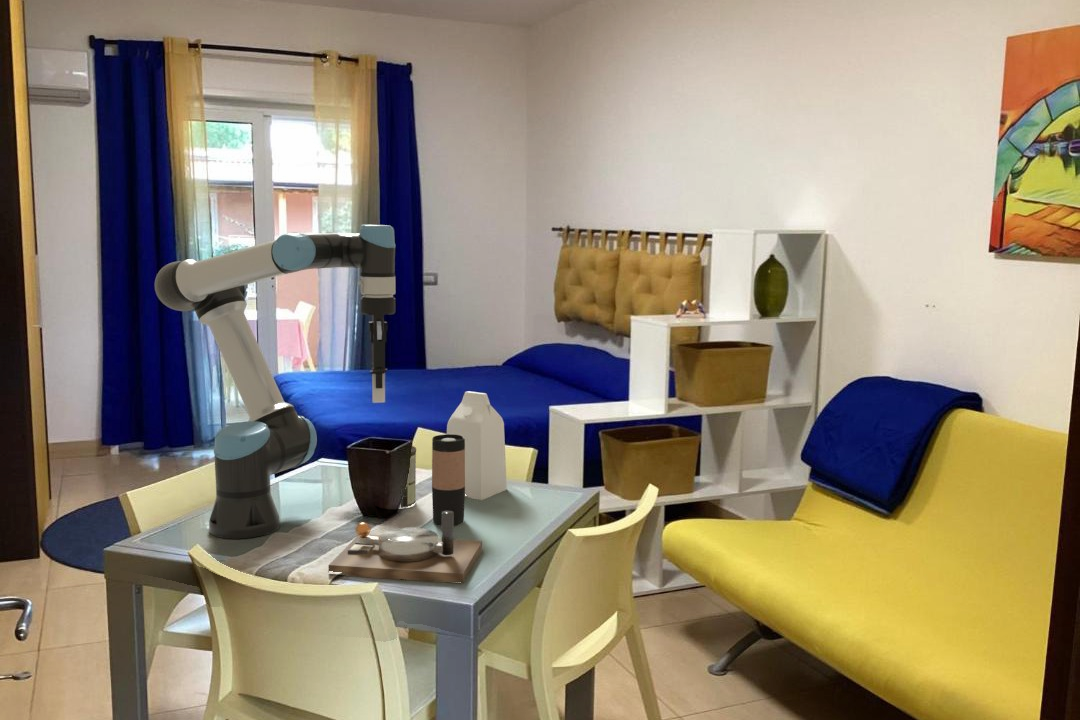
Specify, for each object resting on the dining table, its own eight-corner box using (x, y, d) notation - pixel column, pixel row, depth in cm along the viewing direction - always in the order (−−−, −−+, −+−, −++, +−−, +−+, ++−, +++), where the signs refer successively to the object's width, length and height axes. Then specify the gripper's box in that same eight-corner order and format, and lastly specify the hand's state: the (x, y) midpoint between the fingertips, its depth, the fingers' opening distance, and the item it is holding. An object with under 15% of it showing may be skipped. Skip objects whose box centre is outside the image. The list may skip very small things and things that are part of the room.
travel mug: (425, 523, 216) (425, 439, 213) (443, 514, 222) (443, 432, 220) (453, 528, 212) (453, 443, 209) (471, 519, 219) (471, 436, 216)
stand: (328, 574, 184) (328, 561, 183) (360, 542, 202) (359, 530, 202) (462, 583, 180) (462, 570, 180) (482, 550, 199) (482, 537, 198)
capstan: (343, 555, 188) (343, 512, 186) (368, 536, 199) (368, 495, 198) (442, 566, 183) (442, 522, 181) (462, 546, 194) (462, 504, 193)
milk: (506, 489, 244) (507, 392, 241) (481, 500, 235) (481, 398, 231) (469, 482, 251) (470, 387, 247) (443, 492, 241) (443, 393, 237)
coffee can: (390, 513, 223) (390, 455, 221) (366, 503, 230) (365, 448, 228) (425, 504, 230) (424, 449, 228) (400, 495, 237) (399, 441, 235)
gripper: (359, 293, 209) (360, 397, 213) (361, 298, 197) (362, 408, 200) (393, 293, 211) (394, 396, 214) (397, 298, 198) (397, 407, 202)
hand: (378, 401), depth 207 cm, fingers closed
